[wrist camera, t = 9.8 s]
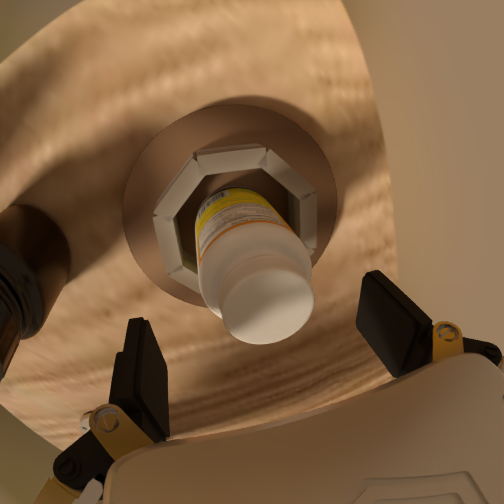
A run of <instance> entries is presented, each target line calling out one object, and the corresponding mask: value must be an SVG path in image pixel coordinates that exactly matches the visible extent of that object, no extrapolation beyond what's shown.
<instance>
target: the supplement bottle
mask: <svg viewBox="0 0 504 504" xmlns="http://www.w3.org/2000/svg"><path fill="white" fill-rule="evenodd" d="M195 238H196V253H197V266H198V279H199V288H200V292H201V295H202V297H203V299H204V301H205V303H206V305H207V306H208V307H209V308H210V309H211V310H212V312H213V313H215V314H216V315H217V316H219V317H220V318H222V319H223V322H224V325H225V327H226V328H227V330H228V331H229V332H230V333H231V334H232V335H233V336H234V337H236V338H237V339H239V340H241V341H243V342H247V343H251V344H269V343H274V342H278V341H281V340H283V339H285V338H287V337H289V336H291V335H292V334H294V333H295V332H297V331H298V330H299V329H300V328H301V327H302V326H303V325H304V324H305V323H306V322H307V320H308V319H309V317H310V315H311V313H312V311H313V307H314V300H315V298H314V292H313V289H312V286H311V284H310V280H311V273H312V265H311V260H310V256H309V253H308V251H307V249H306V247H305V246H304V244H303V243H302V241H301V240H300V239H299V238H298V236H297V235H296V234H295V233H294V232H293V231H292V229H291V228H290V227H289V226H288V224H287V223H286V222H285V221H284V220H283V219H282V217H281V216H280V215H279V214H278V213H277V212H276V210H275V209H274V208H273V207H272V206H271V205H270V203H269V202H268V201H267V200H266V199H265V198H264V197H263V196H262V195H261V194H259V193H258V192H256V191H255V190H252V189H250V188H247V187H242V186H230V187H225V188H222V189H219V190H217V191H215V192H214V193H212V194H211V195H209V196H208V197H207V198H206V199H205V200H204V202H203V203H202V204H201V206H200V208H199V210H198V212H197V215H196V219H195Z"/></svg>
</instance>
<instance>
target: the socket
mask: <svg viewBox="0 0 504 504" xmlns="http://www.w3.org/2000/svg"><path fill="white" fill-rule="evenodd" d="M230 186H242V187H247V188H250V189H252V190H255V191H256V192H258V193H259V194H261V195H262V196H263V197H264V198H265V199H266V200H267V201H268V202H269V203H270V205H271V206H272V207H273V208H274V209H275V210H276V212H277V213H278V214H279V215H280V216H281V217H282V219H283V220H284V221H285V222H286V223H287V224H288V226H289V227H290V228H291V229H292V231H293V232H294V233H295V234H296V235H297V236H298V238H299V239H300V240H301V241H302V243H303V244H304V246H305V247H306V249H307V251H308V253H309V256H310V260H311V265H312V268H313V266H314V265H315V264H316V263H317V261H318V260H319V258H320V257H321V255H322V254H323V252H324V250H325V248H326V246H327V244H328V242H329V240H330V237H331V234H332V231H333V228H334V223H335V219H336V211H337V192H336V186H335V180H334V177H333V173H332V170H331V167H330V165H329V163H328V161H327V159H326V157H325V155H324V153H323V152H322V150H321V149H320V147H319V146H318V144H317V143H316V142H315V141H314V140H313V139H312V137H311V136H310V135H309V134H308V133H307V132H306V131H304V130H303V129H302V128H301V127H300V126H298V125H297V124H296V123H294V122H292V121H291V120H289V119H288V118H286V117H284V116H282V115H280V114H277V113H275V112H272V111H270V110H266V109H263V108H259V107H255V106H246V105H222V106H216V107H211V108H206V109H203V110H200V111H197V112H194V113H191V114H189V115H187V116H185V117H183V118H181V119H179V120H177V121H175V122H174V123H172V124H171V125H169V126H168V127H167V128H165V129H164V130H162V131H161V132H160V133H159V134H158V135H157V136H156V137H155V138H154V139H153V140H152V141H151V142H150V143H149V144H148V145H147V147H146V148H145V149H144V150H143V152H142V153H141V154H140V156H139V158H138V159H137V161H136V163H135V164H134V166H133V168H132V171H131V173H130V176H129V178H128V181H127V184H126V188H125V192H124V197H123V208H122V214H123V226H124V231H125V236H126V240H127V243H128V245H129V248H130V251H131V253H132V255H133V257H134V258H135V260H136V262H137V264H138V265H139V266H140V268H141V269H142V271H143V272H144V273H145V274H146V275H147V276H148V277H149V279H150V280H151V281H152V282H153V283H155V284H156V285H157V286H158V287H160V288H161V289H162V290H164V291H165V292H167V293H168V294H170V295H172V296H173V297H175V298H178V299H180V300H182V301H184V302H187V303H190V304H193V305H196V306H201V307H206V308H209V307H208V306H207V305H206V303H205V301H204V299H203V297H202V295H201V292H200V288H199V279H198V266H197V253H196V238H195V219H196V215H197V212H198V210H199V208H200V206H201V204H202V203H203V202H204V200H205V199H206V198H207V197H208V196H209V195H211V194H212V193H214V192H215V191H217V190H219V189H222V188H225V187H230Z"/></svg>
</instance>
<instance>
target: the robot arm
mask: <svg viewBox="0 0 504 504" xmlns="http://www.w3.org/2000/svg"><path fill="white" fill-rule="evenodd" d="M356 326H357V329H358V330H359V331H360V333H361V334H362V335H363V337H364V338H365V339H366V341H367V342H368V343H369V345H370V346H371V348H372V349H373V350H374V352H375V353H376V354H377V356H378V357H379V358H380V360H381V361H382V363H383V364H384V365H385V367H386V368H387V369H388V371H389V372H390V374H391V375H392V376H393V377H395V378H397V379H395V380H392V381H390V382H388V383H386V384H383V385H381V386H378V387H376V388H374V389H371V390H369V391H366V392H364V393H361V394H358V395H356V396H353V397H350V398H348V399H345V400H342V401H339V402H337V403H334V404H331V405H328V406H325V407H322V408H318V409H315V410H312V411H309V412H305V413H302V414H299V415H295V416H292V417H288V418H284V419H280V420H277V421H273V422H268V423H264V424H260V425H256V426H251V427H246V428H242V429H236V430H231V431H226V432H220V433H215V434H209V435H203V436H196V437H189V438H183V439H177V440H170V441H166V437H170V429H169V409H168V371H167V365H166V362H165V360H164V358H163V355H162V353H161V351H160V348H159V346H158V343H157V341H156V338H155V336H154V333H153V331H152V328H151V325H150V323H149V321H148V320H144V318H143V317H139V318H132V319H129V322H128V327H127V332H126V337H125V343H124V349H123V352H118V353H117V354H116V358H115V364H114V370H113V376H112V382H111V389H110V396H109V404H104V405H101V406H99V407H97V408H96V409H95V410H94V411H92V413H88V414H86V415H84V416H83V417H82V418H81V420H80V429H81V431H82V433H83V434H84V435H83V436H82V437H80V438H79V439H78V440H77V441H76V442H74V443H73V444H72V445H71V446H69V447H68V448H67V449H66V450H65V451H63V452H62V453H61V454H60V455H59V456H58V457H57V458H56V459H55V462H54V464H53V471H54V477H53V478H52V479H51V478H49V479H48V480H47V482H46V483H45V485H44V486H43V488H42V490H41V491H40V493H39V494H38V496H37V498H36V499H35V501H34V502H33V504H504V356H502V354H501V351H500V349H499V348H498V347H497V346H496V345H494V344H492V343H489V342H484V341H479V340H474V339H469V338H465V337H462V333H461V330H460V329H459V328H458V327H457V326H456V325H455V324H453V323H450V322H439V323H437V324H435V326H433V325H432V320H431V319H430V318H429V317H428V316H427V315H426V314H425V313H424V312H423V311H422V310H421V309H420V308H419V307H418V306H417V305H416V304H415V303H414V302H413V301H412V300H411V299H410V298H409V297H408V296H407V295H405V294H404V293H403V292H402V291H401V290H400V289H399V288H398V287H397V286H396V285H395V284H394V283H393V282H392V281H390V280H389V279H388V278H387V277H386V276H385V275H384V274H383V273H382V272H381V271H379V270H374V271H370V272H367V273H366V274H365V276H364V277H363V279H362V286H361V293H360V299H359V306H358V312H357V318H356Z"/></svg>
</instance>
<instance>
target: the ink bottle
mask: <svg viewBox="0 0 504 504" xmlns="http://www.w3.org/2000/svg"><path fill="white" fill-rule="evenodd" d="M69 271H70V252H69V247H68V244H67V241H66V239H65V237H64V235H63V233H62V231H61V230H60V228H59V227H58V226H57V225H56V223H55V222H54V221H53V220H52V219H51V218H50V217H49V216H48V215H46V214H45V213H44V212H42V211H41V210H39V209H37V208H35V207H32V206H29V205H24V204H17V205H13V206H10V207H8V208H6V209H5V210H3V211H2V212H1V213H0V382H1V380H2V379H3V378H4V377H5V374H6V372H7V369H8V367H9V365H10V363H11V360H12V358H13V356H14V354H15V352H16V349H17V347H18V345H19V342H20V340H25V339H28V338H31V337H33V336H34V335H36V334H37V333H38V332H39V331H40V329H41V328H42V327H43V325H44V323H45V321H46V319H47V317H48V315H49V313H50V311H51V309H52V307H53V305H54V304H55V302H56V300H57V298H58V296H59V294H60V292H61V291H62V289H63V287H64V285H65V283H66V281H67V279H68V276H69Z"/></svg>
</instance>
